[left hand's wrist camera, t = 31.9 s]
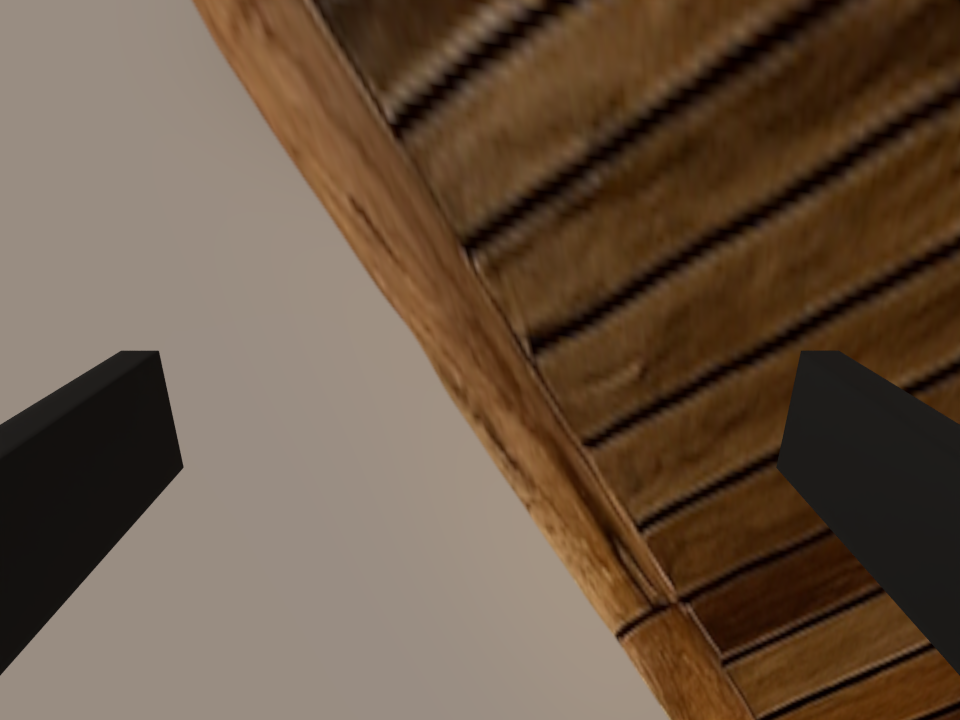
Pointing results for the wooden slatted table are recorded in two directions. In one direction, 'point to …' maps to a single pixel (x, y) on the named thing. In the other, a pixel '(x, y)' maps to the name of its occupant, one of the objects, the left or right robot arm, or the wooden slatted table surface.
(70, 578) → the left robot arm
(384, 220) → the wooden slatted table surface
